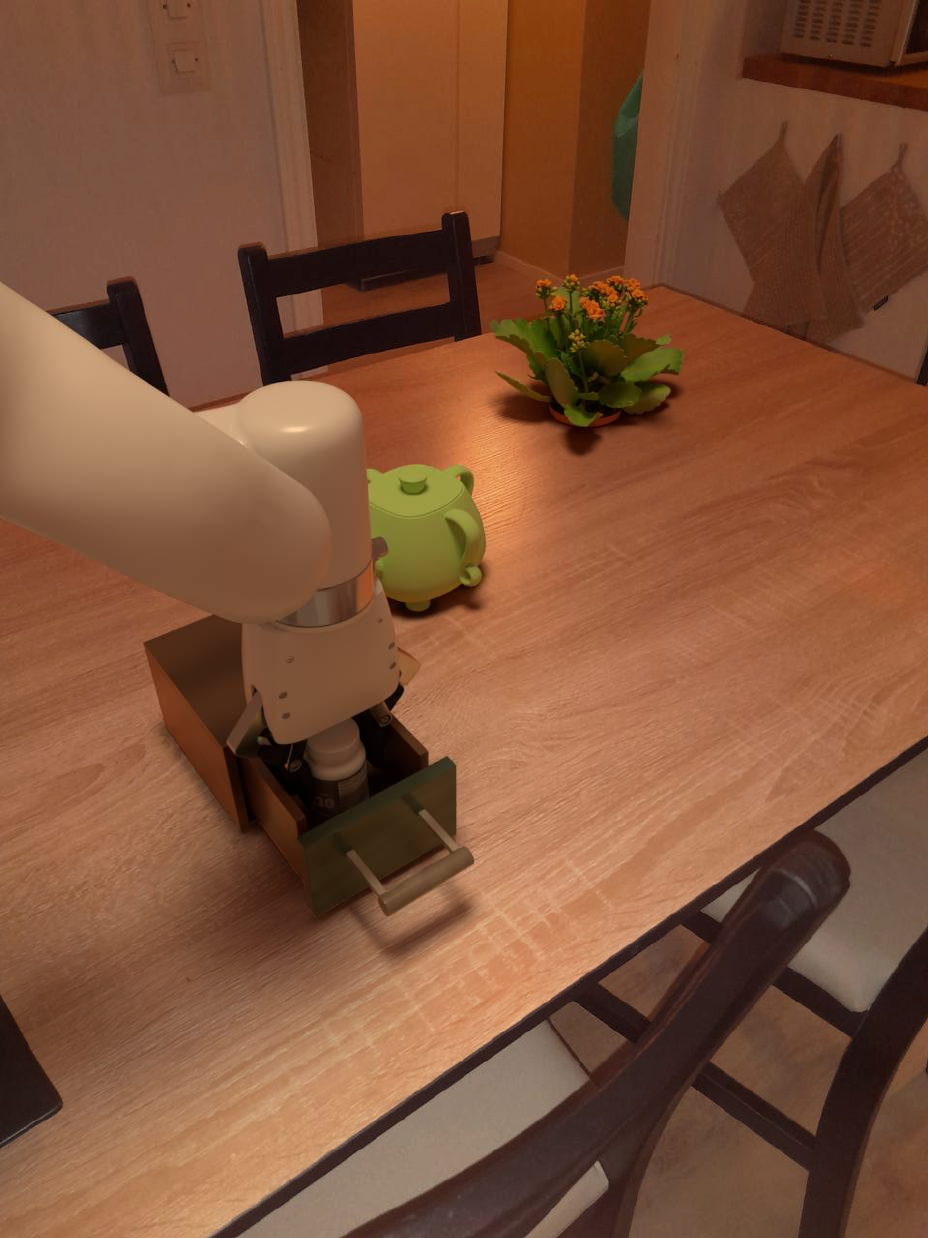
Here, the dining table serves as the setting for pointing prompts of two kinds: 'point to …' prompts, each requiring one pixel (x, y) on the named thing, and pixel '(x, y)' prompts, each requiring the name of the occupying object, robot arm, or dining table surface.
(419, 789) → the drawer
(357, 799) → the pill bottle
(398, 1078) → the dining table surface
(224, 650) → the cabinet
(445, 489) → the teapot
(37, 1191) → the dining table surface
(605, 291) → the potted flower
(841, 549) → the dining table surface
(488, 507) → the dining table surface
